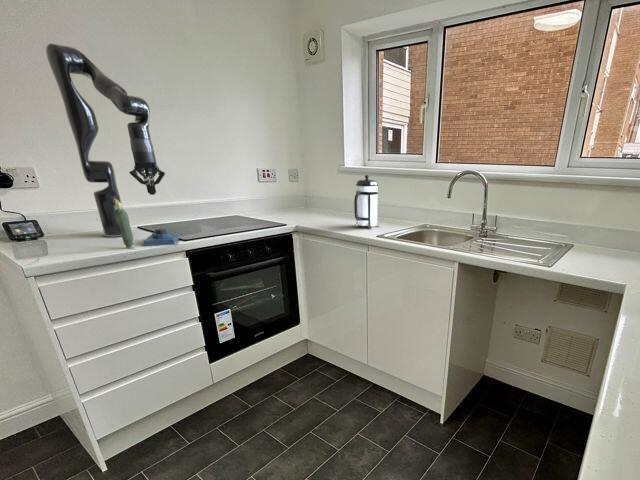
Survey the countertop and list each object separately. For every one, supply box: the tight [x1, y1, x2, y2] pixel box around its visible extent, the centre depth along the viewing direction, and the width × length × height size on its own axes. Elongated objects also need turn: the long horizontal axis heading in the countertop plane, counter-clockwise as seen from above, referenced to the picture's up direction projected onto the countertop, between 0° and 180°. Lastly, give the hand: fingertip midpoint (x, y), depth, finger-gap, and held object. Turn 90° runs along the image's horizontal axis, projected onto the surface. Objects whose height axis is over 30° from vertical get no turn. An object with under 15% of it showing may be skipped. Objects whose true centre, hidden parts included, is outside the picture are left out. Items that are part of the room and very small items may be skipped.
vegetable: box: [113, 199, 134, 249], centre depth 141 cm, size 4×4×20 cm
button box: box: [143, 231, 180, 247], centre depth 157 cm, size 14×11×4 cm
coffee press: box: [353, 174, 380, 230], centre depth 205 cm, size 17×16×30 cm
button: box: [154, 228, 167, 234], centre depth 156 cm, size 4×4×2 cm
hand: (152, 194), depth 150 cm, fingers closed
